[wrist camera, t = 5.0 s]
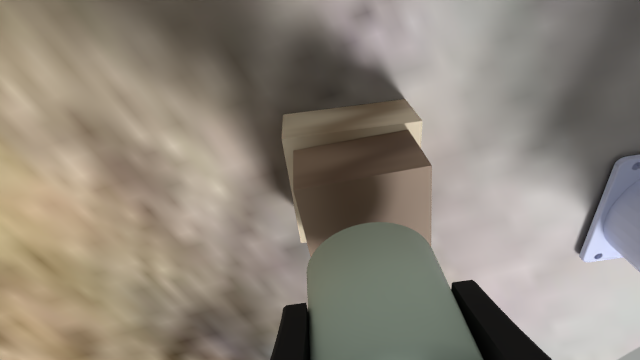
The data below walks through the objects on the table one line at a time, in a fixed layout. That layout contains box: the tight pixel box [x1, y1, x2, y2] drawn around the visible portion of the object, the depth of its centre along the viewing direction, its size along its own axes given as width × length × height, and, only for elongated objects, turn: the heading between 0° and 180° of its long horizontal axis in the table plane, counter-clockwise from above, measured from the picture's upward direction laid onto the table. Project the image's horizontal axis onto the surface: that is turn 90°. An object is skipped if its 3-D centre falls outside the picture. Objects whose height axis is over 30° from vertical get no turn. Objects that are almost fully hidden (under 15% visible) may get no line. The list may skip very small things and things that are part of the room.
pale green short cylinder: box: [307, 222, 484, 360], centre depth 10 cm, size 4×4×4 cm
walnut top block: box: [293, 130, 432, 257], centre depth 15 cm, size 5×5×3 cm
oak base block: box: [282, 99, 422, 243], centre depth 18 cm, size 6×6×3 cm
